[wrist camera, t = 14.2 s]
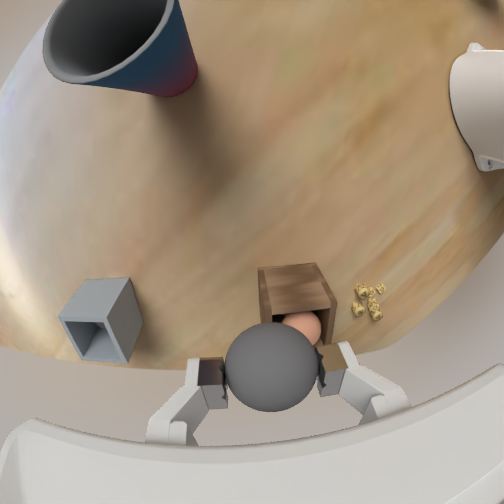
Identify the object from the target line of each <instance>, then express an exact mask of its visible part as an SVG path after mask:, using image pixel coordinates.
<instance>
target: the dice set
mask: <svg viewBox="0 0 504 504" xmlns="http://www.w3.org/2000/svg"><path fill="white" fill-rule="evenodd" d="M376 288H377V290H378V291H379V293H380V294H381V293H382V292H383V291H385V290H386V288H385V286H384V285H383V284H382V283H381V284H380V285H378V286H377V287H376ZM355 292H356V293H357V295H358V296H359V297H360V298H361V299H365V298H367V297H368V296H370V297H372V296H373V295H374V294H375V293H376V291H375V290H374V289H373V288H372V287H371V286H370V287H369V288H367V287H366V285H365V284H364V283H363V282H362V283H358V284H357V285H356V286H355ZM367 306H368V307H369V309H370V310H369V314H370V315H371V317H372V319H373V320H374V321H379V320H380V319H381V318H382V317H383V313H382V312H381V310H380V309H379V308H378V307H379V306H380V305H379V304H378V303H377V301H376V299H375V298H369V299H368V300H367ZM351 309H352V311H353V313H354V314H355V316H357V317H360V316H362V315H363V314H364V313H365V308H364V306H363V305H362V303H361V302H359V301H355V302H353V304H352V305H351Z"/></svg>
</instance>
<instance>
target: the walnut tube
mask: <svg viewBox="0 0 504 504" xmlns="http://www.w3.org/2000/svg"><path fill="white" fill-rule="evenodd" d="M258 285H259V303H260V317H261V324H262V323H270V322H275V323H282V321H283V319H284V318H285V316H284V315H282V314H285V313H294V312H303V311H311V312H313V313H314V314H315V315H316V316H317V317H318V319H319V321H320V323H321V335H320V337H319V339H318V341H317V342H316V343H315V344H314V345H313V347H314V348H315V347H316V346H322V345H328V344H331V340H332V334H333V328H334V321H335V315H336V308H337V300H336V298H335V296H334V295H333V293H332V291H331V289H330V287H329V286H328V284H327V282H326V280H325V278H324V277H323V275H322V273H321V271H320V270H319V268H318V266H317V264H316V263H308V264H297V265H286V266H275V267H263V268H258Z"/></svg>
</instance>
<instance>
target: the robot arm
mask: <svg viewBox="0 0 504 504" xmlns="http://www.w3.org/2000/svg"><path fill="white" fill-rule="evenodd" d="M450 98H451V104H452V109H453V113H454V116H455V119H456V122H457V125H458V127H459V130H460V132H461V134H462V136H463V137H464V139H465V141H466V142H467V144H468V145H469V146H470V148H471V150H472V151H473V154H474V158H475V161H476V164H477V167H478V169H479V170H480V171H492V170H497V169H502V168H504V50H485V49H484V48H483V47H482V46H481V45H479V44H478V43H470V45H469V47H468V49H467V52H466V53H465V54H463V55H461V56H459V57H458V58H457V59H456V60H455V62H454V64H453V66H452V69H451V73H450ZM314 349H315V352H316V355H317V360H318V374H317V378H316V380H318V384H317V387H318V390H319V394H320V397H324V396H329V395H335V394H339V396H341V397H342V398H343V399H344V400H345V401H347V402H348V403H349V404H350V405H351V406H353V407H354V408H355V409H356V410H357V411H359V412H360V413H361V414H362V415H363V417H362V419H361V421H360V423H359V425H357V426H354V427H350V428H346V429H342V430H338V431H334V432H329V433H325V434H320V435H315V436H310V437H305V438H299V439H292V440H285V441H278V442H270V443H260V444H248V445H234V446H233V445H232V446H199V445H198V443H197V442H196V440H195V438H194V436H193V432H194V431H195V430H196V428H197V427H198V426H199V424H200V423H201V421H202V420H203V419H204V417H205V416H206V414H207V413H208V411H209V409H225V408H228V395H227V391H226V390H227V389H228V386H227V381H226V377H225V369H224V359H223V357H210V358H189V359H188V363H187V370H186V378H185V386H182V387H180V388H179V389H178V391H176V393H175V394H174V395H173V396H172V397H171V398H170V399H169V400H168V401H167V402H166V403H165V404H164V405H163V406H162V407H161V408H160V409H159V410H158V411H157V412H156V413H155V414H154V415H153V416H152V417H151V418H150V419H149V424H148V430H147V435H146V441H145V443H143V442H135V441H128V440H121V439H115V438H110V437H105V436H99V435H95V434H90V433H86V432H82V431H78V430H74V429H70V428H66V427H63V426H59V425H56V424H53V423H49V422H47V421H44V420H41V419H38V418H32V419H29V420H27V421H26V422H24V423H23V424H21V425H20V426H18V427H17V428H15V429H14V430H13V431H12V432H11V433H10V434H9V436H8V437H7V439H6V441H5V443H4V445H3V447H2V450H1V452H0V504H504V364H496V365H494V366H493V367H491V368H489V369H488V370H486V371H485V372H483V373H481V374H479V375H478V376H476V377H474V378H473V379H471V380H469V381H467V382H465V383H463V384H462V385H460V386H458V387H456V388H454V389H452V390H450V391H448V392H446V393H444V394H441V395H439V396H437V397H435V398H433V399H430V400H428V401H426V402H424V403H421V404H419V405H416V406H414V407H411V405H410V403H409V401H408V399H407V397H406V395H405V393H404V391H403V389H402V388H401V387H400V386H398V385H396V384H394V383H393V382H391V381H389V380H387V379H386V378H384V377H382V376H381V375H379V374H377V373H375V372H374V371H372V370H370V369H369V368H367V367H365V366H364V365H362V366H360V365H359V362H358V360H357V358H356V356H355V354H354V352H353V350H352V348H351V346H350V344H349V342H347V341H344V342H339V343H333V344H328V345H322V346H316V347H315V348H314Z"/></svg>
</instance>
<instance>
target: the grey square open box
mask: <svg viewBox="0 0 504 504" xmlns="http://www.w3.org/2000/svg"><path fill="white" fill-rule="evenodd" d="M58 317H59V319H60V321H61V323H62V325H63V327H64V329H65V331H66V333H67V335H68V337H69V339H70V341H71V342H72V344H73V346H74V348H75V350H76V351H77V353H78V355H79V356H80V358H81V360H86V361H96V362H108V363H122V364H128V363H129V360H130V357H131V354H132V351H133V349H134V346H135V343H136V340H137V338H138V335H139V332H140V330H141V327H142V324H143V322H144V321H143V318H142V315H141V312H140V309H139V306H138V303H137V300H136V297H135V294H134V291H133V288H132V284H131V281H130V278H113V279H96V280H85V281H84V283H83V284H82V285H81V286H80V288H79V289H78V290H77V291H76V293H75V294H74V295H73V297H72V298H71V299H70V301H69V302H68V303H67V305H66V306H65V307H64V309H63V310H62V311H61V313H60V314H59V316H58ZM95 322H104V325H105V327H106V329H107V330H106V329H102V328H100V327H99V326H98V325H97V324H96V323H95Z"/></svg>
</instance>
